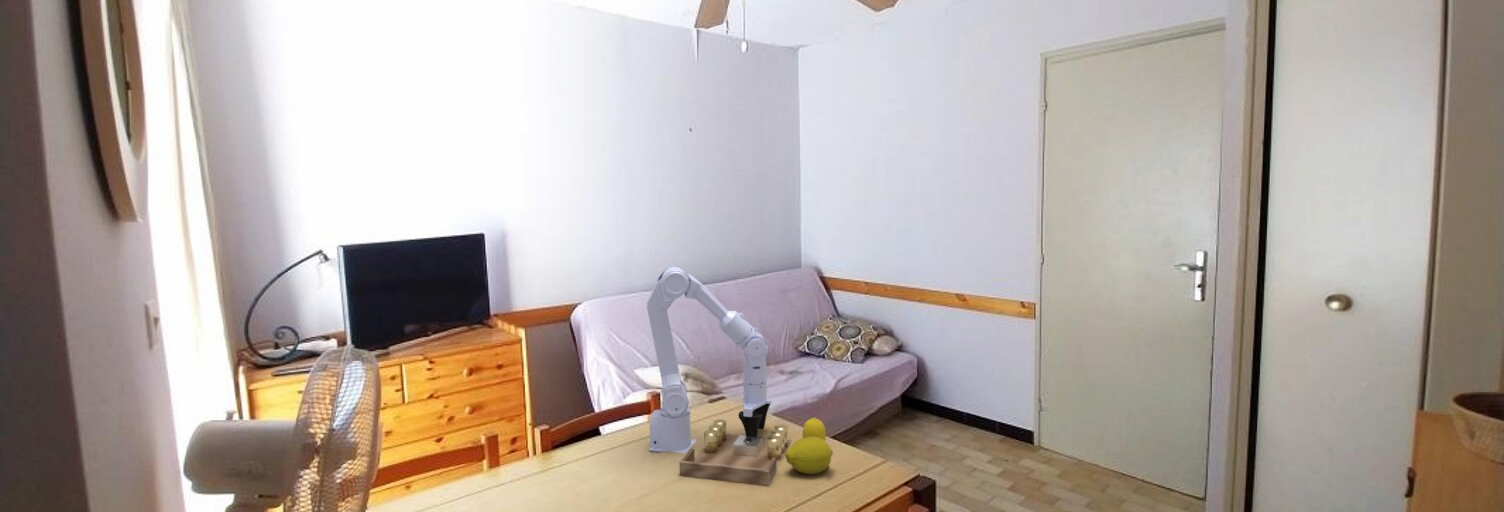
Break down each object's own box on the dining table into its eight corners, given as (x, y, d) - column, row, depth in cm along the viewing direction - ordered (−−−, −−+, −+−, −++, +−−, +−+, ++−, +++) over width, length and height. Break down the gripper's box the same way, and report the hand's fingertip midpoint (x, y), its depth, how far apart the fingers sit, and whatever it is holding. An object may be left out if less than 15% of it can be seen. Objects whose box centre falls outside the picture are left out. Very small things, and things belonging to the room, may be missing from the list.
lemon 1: (825, 445, 152) (825, 413, 151) (826, 455, 146) (825, 422, 145) (802, 444, 152) (802, 413, 151) (802, 454, 147) (802, 421, 146)
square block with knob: (733, 454, 146) (733, 444, 146) (739, 444, 152) (739, 435, 151) (756, 456, 145) (756, 446, 144) (762, 446, 150) (762, 437, 150)
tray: (679, 477, 136) (679, 462, 136) (715, 435, 159) (715, 421, 159) (768, 488, 131) (768, 471, 130) (792, 442, 154) (792, 428, 153)
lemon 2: (828, 463, 142) (828, 429, 141) (838, 478, 134) (838, 443, 134) (781, 467, 141) (781, 432, 140) (788, 483, 133) (788, 447, 132)
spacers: (702, 453, 147) (701, 434, 147) (716, 436, 157) (715, 418, 156) (779, 461, 142) (779, 442, 142) (789, 443, 152) (788, 425, 151)
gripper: (763, 392, 146) (764, 447, 147) (777, 373, 159) (778, 424, 161) (734, 389, 147) (735, 445, 149) (750, 372, 161) (751, 422, 163)
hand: (755, 434), depth 155 cm, fingers open, 7 cm apart
